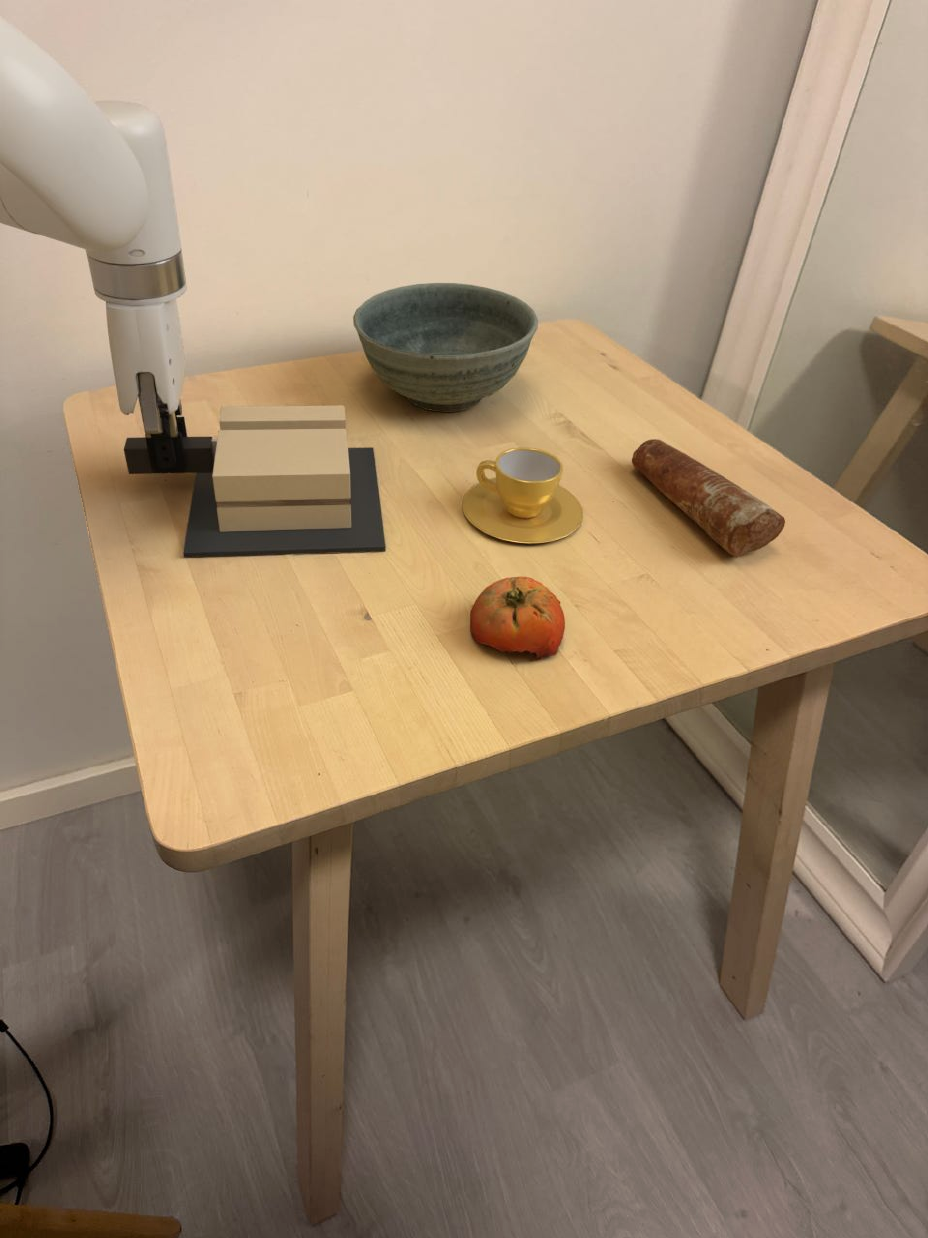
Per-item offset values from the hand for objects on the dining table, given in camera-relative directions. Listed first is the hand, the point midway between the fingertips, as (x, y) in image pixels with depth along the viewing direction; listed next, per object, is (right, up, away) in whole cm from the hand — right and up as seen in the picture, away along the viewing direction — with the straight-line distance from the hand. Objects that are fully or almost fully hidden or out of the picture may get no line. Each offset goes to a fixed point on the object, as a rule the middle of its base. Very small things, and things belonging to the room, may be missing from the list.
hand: (171, 461), depth 88 cm
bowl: (+26, +11, +20) cm, 35 cm away
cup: (+34, -5, +2) cm, 35 cm away
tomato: (+33, -17, -12) cm, 39 cm away
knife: (+5, 0, +1) cm, 5 cm away
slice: (+10, 0, +5) cm, 11 cm away
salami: (+51, -5, +4) cm, 52 cm away
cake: (+11, -4, +1) cm, 12 cm away
